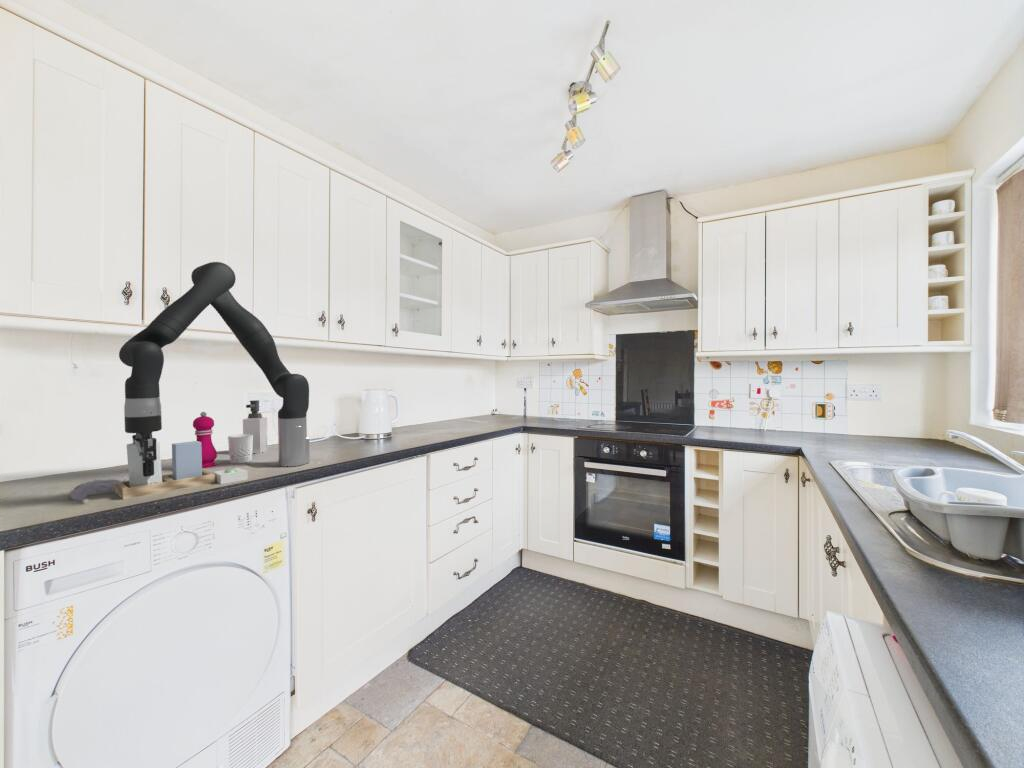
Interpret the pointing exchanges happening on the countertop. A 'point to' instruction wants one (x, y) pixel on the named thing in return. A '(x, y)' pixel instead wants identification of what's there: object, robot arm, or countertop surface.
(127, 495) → the pallet
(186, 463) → the seated block
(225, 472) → the button
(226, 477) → the button box
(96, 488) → the stone block
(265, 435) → the soap dispenser
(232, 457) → the white cup
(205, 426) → the pepper mill
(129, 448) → the skincare box
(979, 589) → the countertop surface
